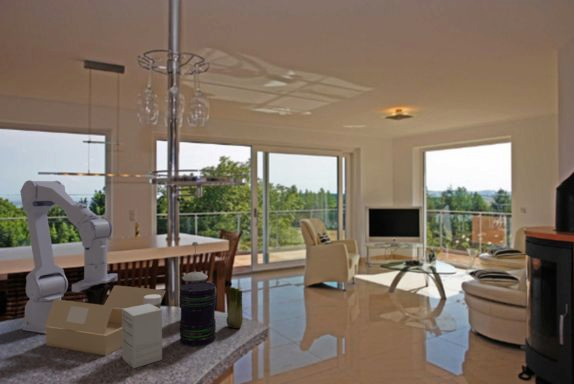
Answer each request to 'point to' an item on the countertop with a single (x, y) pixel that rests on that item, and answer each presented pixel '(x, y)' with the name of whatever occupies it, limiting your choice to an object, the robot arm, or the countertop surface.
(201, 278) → the french press
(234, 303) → the fennel bulb
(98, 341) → the carton
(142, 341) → the supplement box
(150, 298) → the sprinkles bottle
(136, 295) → the flap
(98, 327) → the flap
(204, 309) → the storage jar
